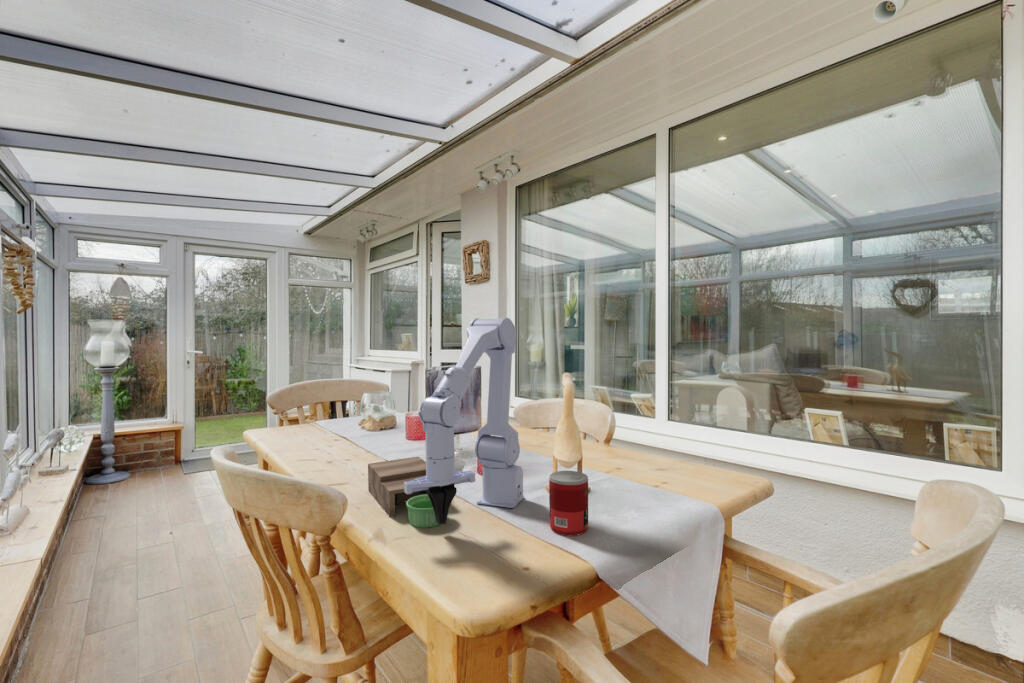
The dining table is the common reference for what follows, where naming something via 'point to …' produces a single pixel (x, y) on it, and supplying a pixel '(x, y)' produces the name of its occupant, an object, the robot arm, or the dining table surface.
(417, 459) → the walnut shelf
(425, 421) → the robot arm
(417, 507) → the ramekin
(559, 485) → the canned food
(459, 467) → the white sugar bowl
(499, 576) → the dining table surface
